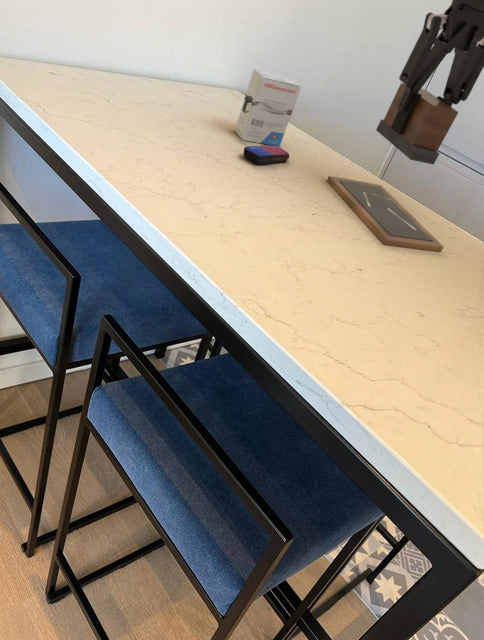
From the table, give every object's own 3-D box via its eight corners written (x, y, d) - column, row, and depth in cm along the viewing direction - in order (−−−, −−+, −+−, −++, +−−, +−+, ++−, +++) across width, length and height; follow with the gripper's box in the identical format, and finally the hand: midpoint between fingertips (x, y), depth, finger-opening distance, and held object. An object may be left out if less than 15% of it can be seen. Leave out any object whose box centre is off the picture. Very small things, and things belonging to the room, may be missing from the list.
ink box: (271, 137, 116) (292, 77, 109) (280, 147, 113) (302, 86, 106) (233, 129, 112) (252, 67, 105) (241, 140, 109) (262, 76, 102)
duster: (434, 164, 96) (462, 114, 91) (409, 159, 94) (436, 107, 88) (398, 135, 104) (422, 87, 99) (374, 129, 102) (397, 80, 97)
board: (440, 252, 96) (444, 246, 95) (384, 244, 91) (387, 238, 90) (378, 189, 111) (381, 184, 110) (326, 180, 106) (329, 175, 105)
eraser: (275, 152, 110) (278, 143, 109) (291, 162, 108) (294, 153, 107) (238, 154, 102) (241, 145, 101) (254, 165, 100) (258, 155, 99)
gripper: (516, -10, 89) (439, 134, 104) (427, -46, 82) (356, 115, 96) (549, 3, 84) (462, 152, 99) (456, -35, 77) (377, 133, 91)
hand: (410, 134), depth 97 cm, fingers closed on duster, 5 cm apart
